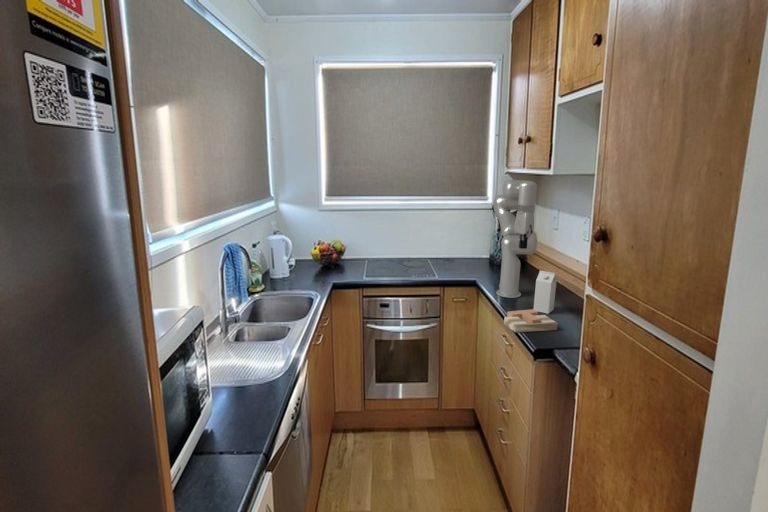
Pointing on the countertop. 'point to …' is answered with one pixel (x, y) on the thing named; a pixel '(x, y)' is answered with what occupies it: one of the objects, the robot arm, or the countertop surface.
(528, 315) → the t block
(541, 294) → the milk carton
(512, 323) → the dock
